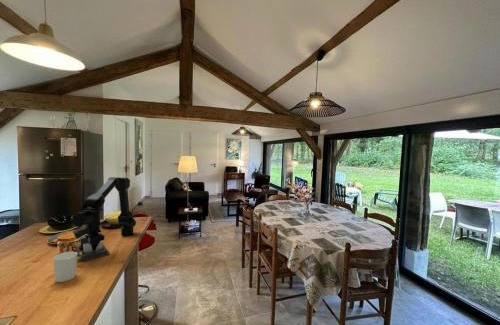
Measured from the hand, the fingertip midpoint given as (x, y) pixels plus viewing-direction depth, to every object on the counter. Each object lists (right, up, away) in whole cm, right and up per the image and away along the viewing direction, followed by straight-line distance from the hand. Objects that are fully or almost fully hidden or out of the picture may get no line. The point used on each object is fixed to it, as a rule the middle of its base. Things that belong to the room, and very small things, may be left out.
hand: (93, 249), depth 117 cm
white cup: (+3, -4, -21) cm, 22 cm away
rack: (-5, -3, +5) cm, 7 cm away
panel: (0, -2, 0) cm, 2 cm away
